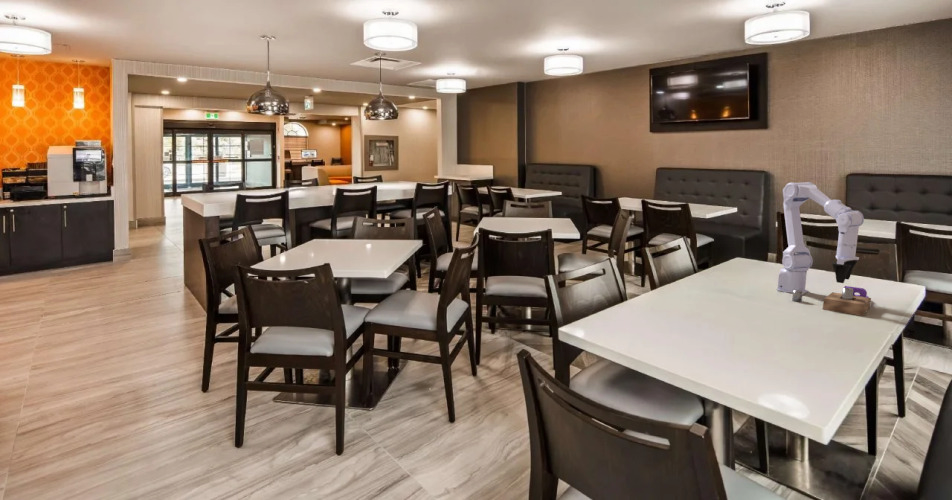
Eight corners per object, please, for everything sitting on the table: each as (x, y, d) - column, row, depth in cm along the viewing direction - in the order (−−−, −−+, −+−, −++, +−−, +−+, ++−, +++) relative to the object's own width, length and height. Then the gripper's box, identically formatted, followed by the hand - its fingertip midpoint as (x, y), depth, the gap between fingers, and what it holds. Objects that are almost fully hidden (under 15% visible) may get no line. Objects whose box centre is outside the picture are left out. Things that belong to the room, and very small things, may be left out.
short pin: (791, 301, 210) (791, 290, 209) (793, 299, 212) (794, 289, 211) (800, 302, 208) (801, 292, 207) (802, 300, 210) (803, 290, 209)
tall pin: (839, 308, 199) (841, 288, 198) (841, 307, 201) (843, 287, 200) (850, 310, 197) (852, 290, 195) (852, 308, 199) (854, 288, 198)
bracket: (864, 308, 201) (866, 289, 200) (842, 304, 205) (844, 286, 204) (868, 301, 210) (870, 283, 209) (846, 298, 214) (848, 281, 213)
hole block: (822, 309, 199) (823, 298, 198) (831, 302, 207) (832, 292, 206) (862, 315, 190) (863, 304, 190) (869, 308, 199) (871, 298, 198)
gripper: (855, 248, 192) (850, 286, 194) (864, 243, 202) (860, 279, 204) (832, 245, 197) (827, 282, 199) (842, 240, 207) (838, 276, 209)
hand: (842, 280), depth 202 cm, fingers open, 7 cm apart
